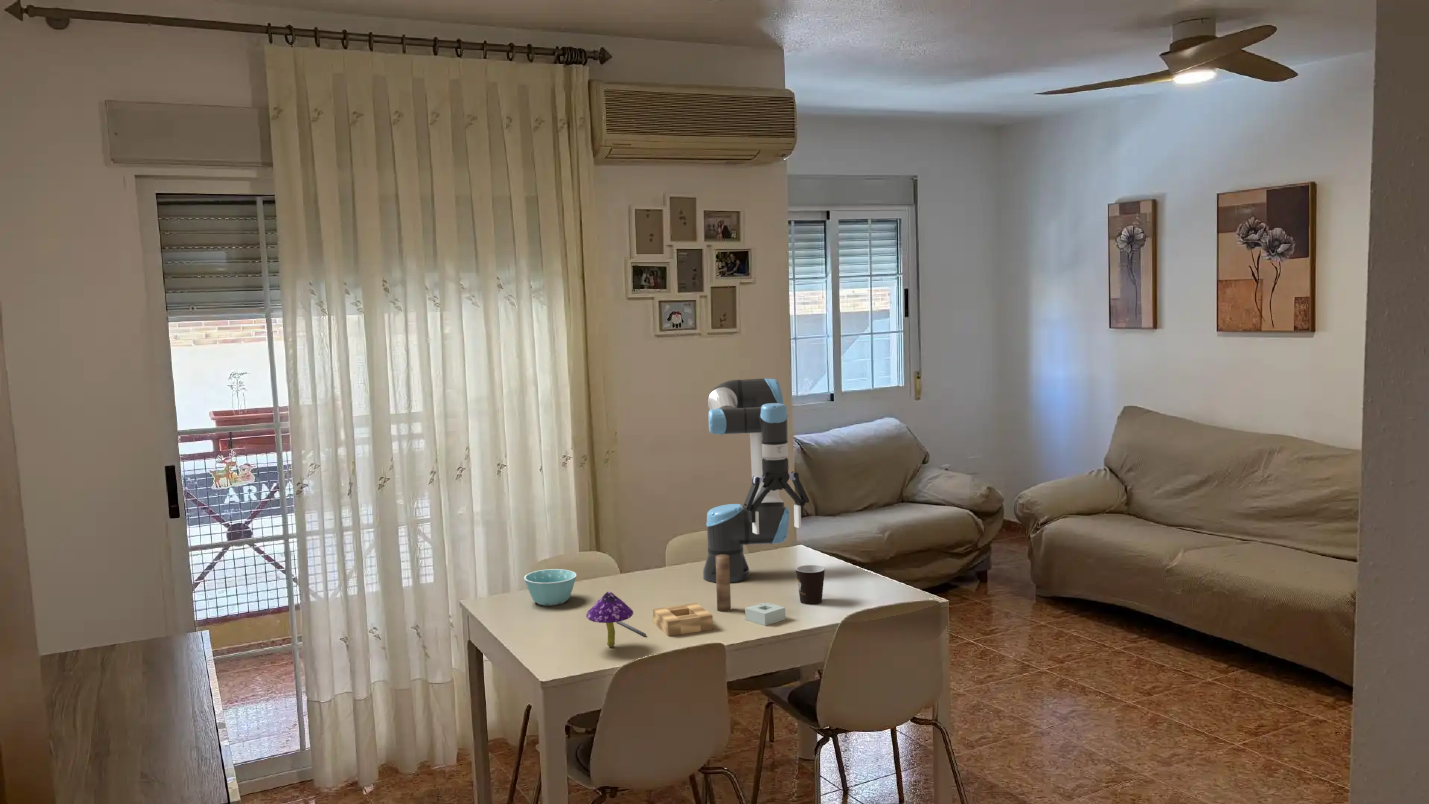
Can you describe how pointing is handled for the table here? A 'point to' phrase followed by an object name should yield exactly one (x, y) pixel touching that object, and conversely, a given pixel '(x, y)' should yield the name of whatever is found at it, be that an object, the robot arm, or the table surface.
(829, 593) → the table surface
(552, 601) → the bowl
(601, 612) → the decorative mushroom
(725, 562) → the brown wooden bar
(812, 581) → the coffee mug
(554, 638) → the table surface
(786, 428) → the robot arm
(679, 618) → the wooden square socket block
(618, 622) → the dark grey rod
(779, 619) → the grey square socket block
